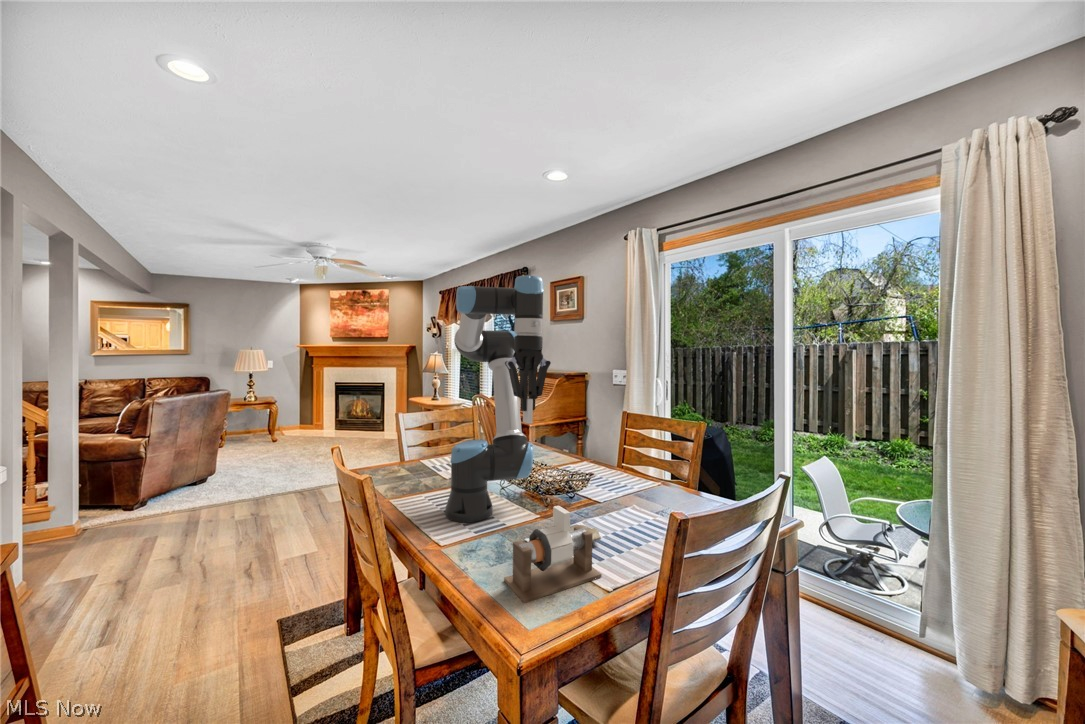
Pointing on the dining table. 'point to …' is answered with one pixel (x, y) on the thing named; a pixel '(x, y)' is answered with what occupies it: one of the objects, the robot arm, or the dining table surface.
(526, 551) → the stand
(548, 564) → the ring
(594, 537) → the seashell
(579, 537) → the pipe
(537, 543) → the band
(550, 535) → the sleeve
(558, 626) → the dining table surface
